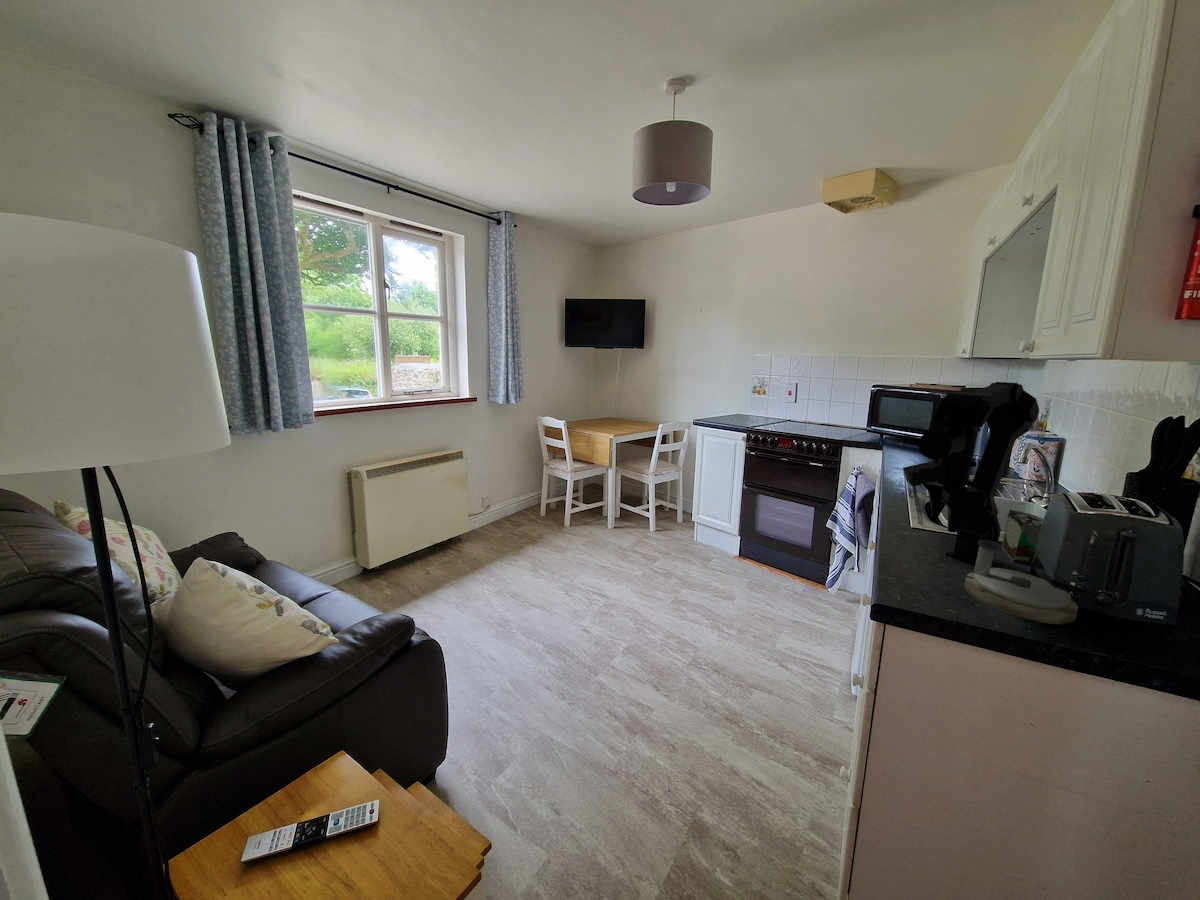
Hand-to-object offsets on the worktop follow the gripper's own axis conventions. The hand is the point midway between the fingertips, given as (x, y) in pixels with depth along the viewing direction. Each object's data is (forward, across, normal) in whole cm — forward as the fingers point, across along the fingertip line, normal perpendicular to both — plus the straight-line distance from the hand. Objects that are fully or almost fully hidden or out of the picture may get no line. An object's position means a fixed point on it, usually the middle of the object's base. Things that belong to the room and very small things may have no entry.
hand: (942, 523), depth 97 cm
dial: (+10, +7, +12) cm, 17 cm away
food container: (+13, -18, +24) cm, 33 cm away
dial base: (+12, +7, +12) cm, 18 cm away
